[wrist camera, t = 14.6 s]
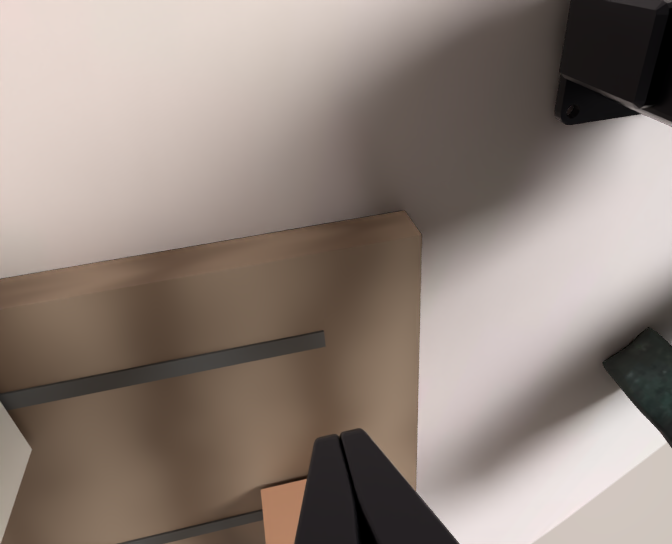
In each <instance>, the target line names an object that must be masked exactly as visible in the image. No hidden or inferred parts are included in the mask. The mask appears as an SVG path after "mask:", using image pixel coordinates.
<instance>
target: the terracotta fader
mask: <svg viewBox="0 0 672 544" xmlns="http://www.w3.org/2000/svg"><path fill="white" fill-rule="evenodd" d="M306 480H307V479H304V480H300V481H295V482H291V483H287V484H283V485H278V486H274V487H270V488H265V489H261V499H262V509H263V520H264V530H265V540H266V544H294V541H295V536H296V531H297V526H298V521H299V516H300V511H301V506H302V501H303V496H304V491H305V485H306Z"/></svg>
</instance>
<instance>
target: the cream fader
mask: <svg viewBox="0 0 672 544" xmlns="http://www.w3.org/2000/svg"><path fill="white" fill-rule="evenodd" d="M31 451H32V449H31V447H30V446H29V444H28V443H27V441H26V440H25V438H24V436H23V435H22V433H21V432H20V430H19V429H18V427H17V426H16V424H15V423H14V421H13V420H12V418H11V417H10V415H9V414H8V412H7V411H6V409H5V408H4V406H3V405H2V403H1V402H0V544H1V541H2V538H3V535H4V532H5V529H6V526H7V523H8V520H9V517H10V514H11V511H12V508H13V505H14V502H15V499H16V496H17V493H18V490H19V487H20V484H21V481H22V478H23V475H24V472H25V469H26V466H27V463H28V460H29V457H30V454H31Z"/></svg>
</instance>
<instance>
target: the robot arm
mask: <svg viewBox="0 0 672 544" xmlns="http://www.w3.org/2000/svg"><path fill="white" fill-rule="evenodd" d="M560 73H561V75H560V81H559V87H558V93H557V99H556V105H555V117H556V119H557V120H559V121H561V122H562V123H564V124H566V125H573V124H580V123H586V122H593V121H599V120H606V119H612V118H619V117H625V116H631V115H638V114H644V115H646V116H648V117H650V118H653V119H655V120H657V121H660V122H662V123H664V124H667V125H669V126H671V127H672V0H571V3H570V9H569V15H568V21H567V27H566V33H565V40H564V46H563V52H562V58H561V64H560ZM572 105H573V110H572V111H571V112H570V113H569V114H568V115H567V111H568V109H569V108H570V106H572ZM339 437H340V438H339ZM294 544H459V542H458V541H457V540H456V539H455V538H454V536H453V535H452V534H451V533H450V532H449V530H448V529H447V528H446V527H445V526H444V525H443V523H442V522H441V521H440V520H439V519H438V517H437V516H436V515H435V514H434V513H433V511H432V510H431V509H430V508H429V507H428V505H427V504H426V503H425V502H424V501H423V499H422V498H421V497H420V496H419V495H418V493H417V492H416V491H415V490H414V489H413V487H412V486H411V485H410V484H409V483H408V482H407V480H406V479H405V478H404V477H403V476H402V474H401V473H400V472H399V471H398V470H397V468H396V467H395V466H394V465H393V464H392V462H391V461H390V460H389V459H388V458H387V456H386V455H385V454H384V453H383V452H382V450H381V449H380V448H379V447H378V446H377V444H376V443H375V442H374V441H373V440H372V438H371V437H370V436H369V435H368V434H367V433H366V431H364V430H363V429H361V428H357V429H352V430H348V431H344V432H341V433H340V436H338V435H337V434H331V435H327V436H322V437H318V438H317V439H316V440H315V441H314V445H313V450H312V455H311V460H310V465H309V470H308V475H307V480H306V485H305V491H304V496H303V501H302V506H301V511H300V516H299V521H298V526H297V531H296V536H295V541H294Z"/></svg>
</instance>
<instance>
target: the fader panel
mask: <svg viewBox="0 0 672 544" xmlns="http://www.w3.org/2000/svg"><path fill="white" fill-rule="evenodd" d="M421 248H422V235H421V233H420V232H419V230H418V229H417V227H416V226H415V224H414V223H413V222H412V220H411V219H410V217H409V216H408V214H407V213H406V211H405V210H404V211H398V212H392V213H386V214H380V215H374V216H368V217H362V218H357V219H351V220H345V221H339V222H333V223H327V224H321V225H315V226H310V227H304V228H298V229H292V230H286V231H280V232H274V233H268V234H262V235H257V236H251V237H245V238H239V239H233V240H227V241H221V242H215V243H209V244H204V245H198V246H192V247H186V248H180V249H174V250H168V251H162V252H156V253H151V254H145V255H139V256H133V257H127V258H121V259H115V260H109V261H103V262H98V263H92V264H86V265H80V266H74V267H68V268H62V269H56V270H50V271H45V272H39V273H33V274H27V275H21V276H15V277H9V278H3V279H0V402H1V403H2V405H3V406H4V408H5V409H6V411H7V412H8V414H9V415H10V417H11V418H12V420H13V421H14V423H15V424H16V426H17V427H18V429H19V430H20V432H21V433H22V435H23V436H24V438H25V440H26V441H27V443H28V444H29V446H30V447H31V449H32V451H31V454H30V457H29V460H28V463H27V466H26V469H25V472H24V475H23V478H22V481H21V484H20V487H19V490H18V493H17V496H16V499H15V502H14V505H13V508H12V511H11V514H10V517H9V520H8V523H7V526H6V529H5V532H4V535H3V538H2V541H1V544H266V540H265V530H264V520H263V509H262V499H261V489H265V488H270V487H274V486H278V485H283V484H287V483H291V482H295V481H300V480H304V479H307V475H308V470H309V465H310V460H311V455H312V450H313V445H314V441H315V440H316V439H317V438H318V437H322V436H327V435H331V434H337V435H338V436H340V433H341V432H344V431H348V430H352V429H357V428H361V429H363V430H364V431H366V433H367V434H368V435H369V436H370V437H371V438H372V440H373V441H374V442H375V443H376V444H377V446H378V447H379V448H380V449H381V450H382V452H383V453H384V454H385V455H386V456H387V458H388V459H389V460H390V461H391V462H392V464H393V465H394V466H395V467H396V468H397V470H398V471H399V472H400V473H401V474H402V476H403V477H404V478H405V479H406V480H407V482H408V483H409V484H410V485H411V486H412V487H413V489H414V490H415V491H416V467H417V423H418V379H419V335H420V292H421ZM339 438H340V437H339Z"/></svg>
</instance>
